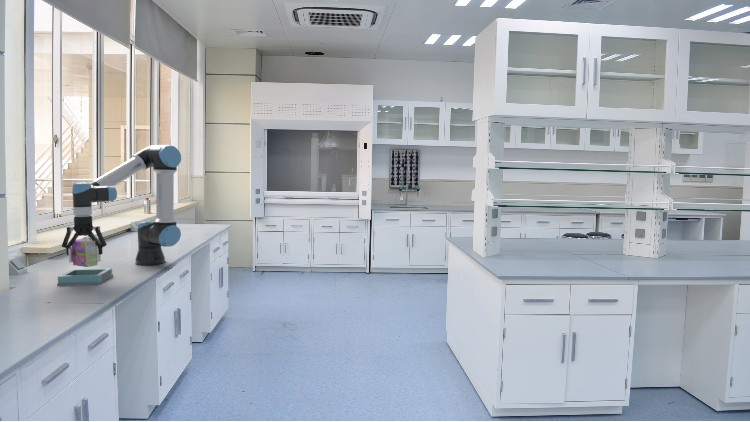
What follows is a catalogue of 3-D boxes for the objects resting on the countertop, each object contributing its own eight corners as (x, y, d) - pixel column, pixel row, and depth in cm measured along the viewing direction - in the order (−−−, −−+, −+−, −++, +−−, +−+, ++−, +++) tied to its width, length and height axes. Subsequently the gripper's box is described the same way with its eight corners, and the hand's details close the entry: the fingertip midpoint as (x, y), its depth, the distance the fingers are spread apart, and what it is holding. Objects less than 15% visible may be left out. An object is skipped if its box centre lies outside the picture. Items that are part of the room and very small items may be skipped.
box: (72, 265, 247) (71, 240, 246) (84, 263, 252) (82, 239, 251) (86, 267, 242) (85, 242, 241) (97, 265, 247) (96, 240, 246)
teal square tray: (113, 275, 258) (112, 267, 258) (99, 284, 240) (98, 275, 240) (73, 276, 255) (73, 268, 255) (57, 285, 238) (56, 277, 237)
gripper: (112, 214, 250) (114, 259, 252) (59, 215, 247) (61, 260, 249) (107, 216, 243) (109, 262, 245) (51, 216, 239) (54, 263, 242)
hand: (85, 261), depth 247 cm, fingers closed on box, 11 cm apart
